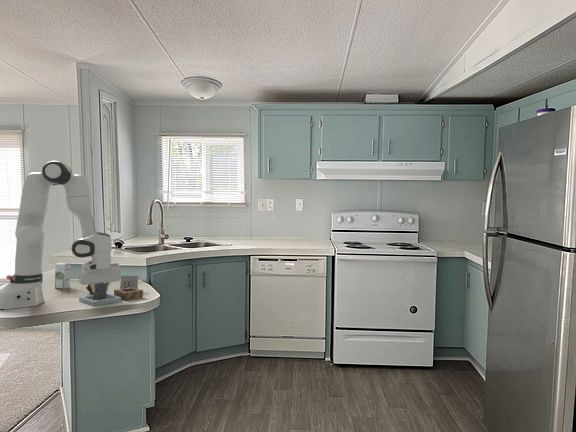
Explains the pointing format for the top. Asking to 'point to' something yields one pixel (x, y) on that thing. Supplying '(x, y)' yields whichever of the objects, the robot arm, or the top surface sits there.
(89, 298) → the tray
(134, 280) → the electrical switch
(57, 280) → the syrup box
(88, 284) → the brown rounded piece
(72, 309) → the top surface
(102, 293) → the plug
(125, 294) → the holder
